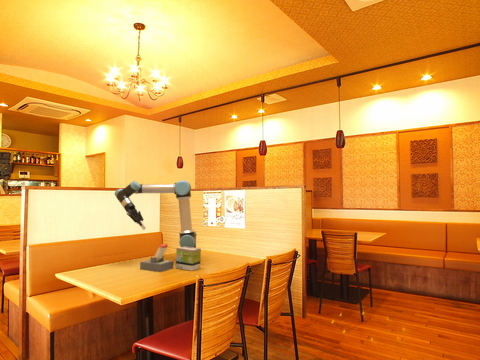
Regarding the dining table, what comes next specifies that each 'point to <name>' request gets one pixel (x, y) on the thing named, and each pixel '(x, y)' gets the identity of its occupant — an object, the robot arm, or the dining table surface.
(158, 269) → the breaker housing
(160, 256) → the breaker lever
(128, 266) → the dining table surface
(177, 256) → the tea box
